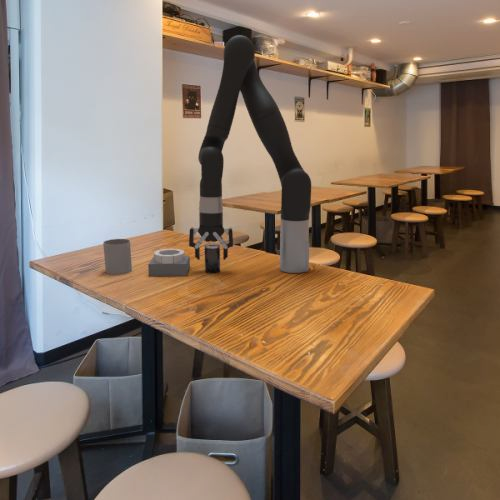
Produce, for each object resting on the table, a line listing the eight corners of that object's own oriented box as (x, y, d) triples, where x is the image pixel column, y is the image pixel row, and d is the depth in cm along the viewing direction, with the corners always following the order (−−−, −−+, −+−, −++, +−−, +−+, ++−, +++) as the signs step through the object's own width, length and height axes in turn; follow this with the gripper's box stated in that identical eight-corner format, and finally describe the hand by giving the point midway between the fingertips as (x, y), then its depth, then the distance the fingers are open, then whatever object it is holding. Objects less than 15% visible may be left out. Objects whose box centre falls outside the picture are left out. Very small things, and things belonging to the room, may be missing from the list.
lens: (220, 268, 145) (220, 242, 143) (220, 273, 140) (219, 246, 138) (205, 269, 145) (204, 243, 143) (204, 273, 140) (203, 246, 138)
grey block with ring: (189, 266, 147) (189, 248, 146) (186, 275, 138) (186, 256, 136) (154, 267, 147) (153, 248, 145) (148, 276, 137) (147, 256, 136)
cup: (124, 275, 138) (122, 245, 135) (100, 274, 139) (98, 244, 137) (136, 268, 146) (134, 239, 143) (113, 266, 147) (111, 238, 145)
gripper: (233, 208, 142) (233, 256, 146) (190, 208, 141) (190, 256, 145) (233, 212, 134) (232, 262, 138) (187, 212, 134) (188, 262, 138)
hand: (211, 259), depth 142 cm, fingers open, 8 cm apart
